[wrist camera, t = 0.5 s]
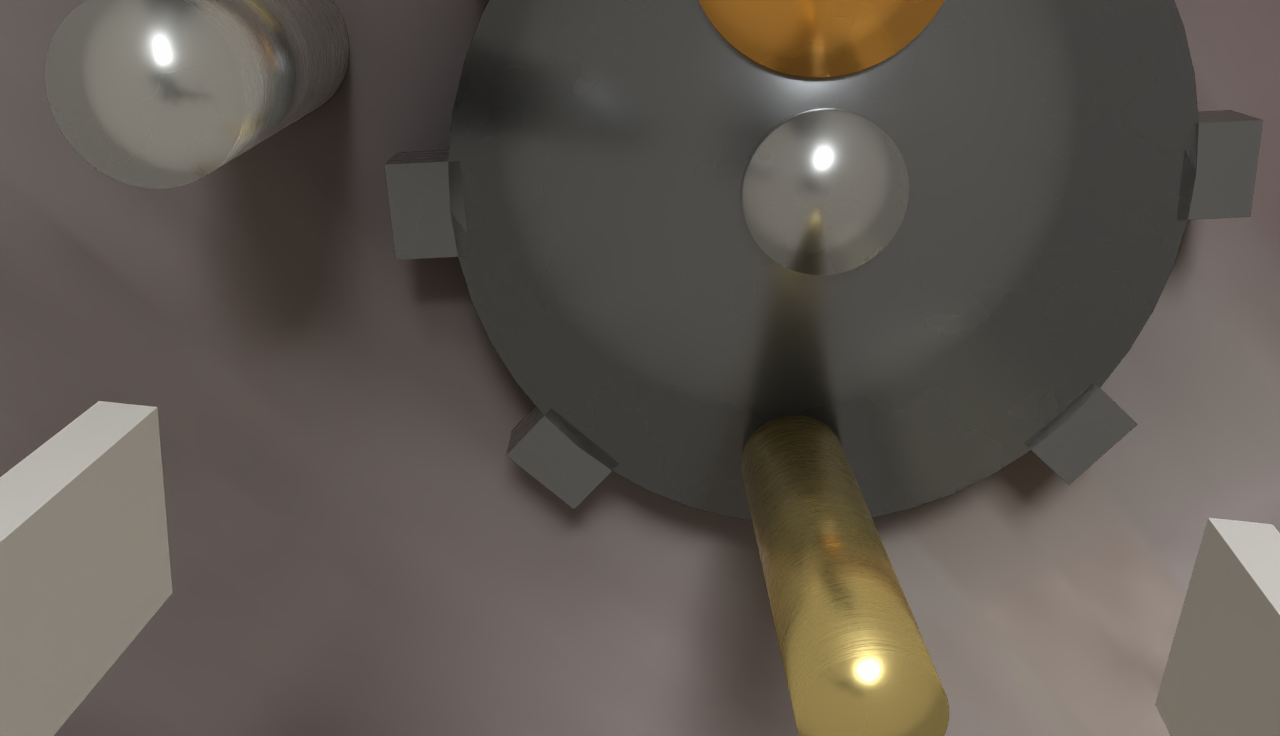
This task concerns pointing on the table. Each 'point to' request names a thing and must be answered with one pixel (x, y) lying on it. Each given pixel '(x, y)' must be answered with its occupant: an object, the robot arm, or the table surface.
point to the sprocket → (820, 267)
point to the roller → (188, 80)
